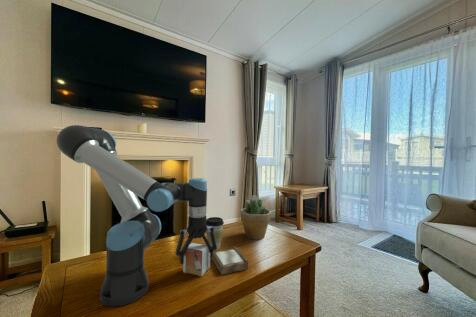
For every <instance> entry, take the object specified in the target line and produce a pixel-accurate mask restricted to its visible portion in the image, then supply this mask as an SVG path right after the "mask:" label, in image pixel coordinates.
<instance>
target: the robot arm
mask: <svg viewBox="0 0 476 317" xmlns="http://www.w3.org/2000/svg"><path fill="white" fill-rule="evenodd" d="M56 144H57V147H58V149H59V150H60V152H61V153H62V154H64V155H65V156H66V157H68V158H69V159H70V160H73V161H74V162H76V163H78V164H85V165H87V166H89V167H90V168H92V169H93V170H94V171H95V172H96V173H97V175H98V178H99V179H100V181H101V183H102V185H103V187H104V188H105V190H106V192H107V194H108V196H109V197H110V199H111V201H112V202H113V205H114V206H115V208H116V210H117V211H118V214H119V215H120V216H121V220H120V223H116V224H115V225H113V226H112V227H110V228H109V230H108V231H107V234H106V240H105V245H106V254H105V255H106V260H105V261H106V265H105V266H106V271H105V272H106V274H105V276H104V280H103V283H102V285H101V289H100V291H99V301H100V303H101V304H102V305H104V306H106V307H111V308H112V307H121V306H122V307H123V306H125V305H128V304H129V305H130V304H131V303H134V302H136V301H137V300H139V299H141V298H142V297H143V296H144V295H146V293H147V292H148V290H149V285H150V284H149V282H150V280H149V277H148V273H147V271H146V268H145V266H144V264H145V263H144V262H145V261H144V259H145V250H146V249H147V248H148V247H149V246H150V245H151V244H152V243H153V242H154V241H155V240H156V239H157V238H158V236H159V235H160V233H161V230H162V223H161V220H160V217H158V216H157V215H156V214H153V213H152V212H151V211H153V212H158V213H159V212H163V211H165V210H167V209H169V208H170V207H171V206H172V205H174V204H175V203H176V202H188V203H187V204H188V205H187V207H188V208H187V209H188V210H187V212H188V214H187V215H188V216H187V217H188V218H187V228H185V229H180V230H179V234H180V235H179V239H178V243H177V246H176V249H175V255H176V257H179V262H180V265H182V272H183V273H184V274H186V273H185V269H186V256H185V252H186V250H187V249H188V247H189V245H190V244H191V243H192V242H193V239H194V240H195V239H201V238H202V239H203V241H204V243H205V245H207V247H208V248H209V249H208V269H210V268H211V259H212V253H213V252H214V251H217V250H216V249H217V246H216V242H215V238H214V234H213V231H214V228H213V227H212V226H210V227H207V226H206V220H207V203H208V202H207V200H208V184H207V183H208V182H207V180H206V179H205V178H204V177H203V178H199V177H195V178H194V177H193V178H189V179H188V182H186V183H185V182H178V183H177V182H162V183H160V182H158V180H156V179H154V178H152V177H150V176H149V175H148V174H145V173H144V172H143V171H141V170H140V169H138V168H136V167H135V166H133V165H131V164H129V163H128V162H126V161H125V160H123V159H121V157H118V156H117V155H118V151H117V148H116V147H117V140H116V139H115V137H114V135H113V134H111V132H109V131H106V130H104V129H101V128H95V127H89V126H85V125H79V124H73V125H68V126H65V127H64V128H63V129H61V130H60V131H59V132H58V135H56ZM139 197H140V198H141V199H143V200H144V201H146V205H147V206H148V207H145V206H143V205H142V203H141V201H140V199H139ZM150 210H151V211H150ZM207 230H208V232H209V234H210V238H211V242H212V247H211V246H210V244H209V242H208V240H207V236H206V235H205V234H206V231H207ZM186 234H188V237H187V239H186V241H185V242H184V239H185V236H186ZM183 243H184V244H183ZM182 246H183V247H182ZM212 260H213V259H212Z"/></svg>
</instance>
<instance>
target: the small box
mask: <svg viewBox="0 0 476 317" xmlns="http://www.w3.org/2000/svg"><path fill="white" fill-rule="evenodd" d="M208 250H209V249H208V247H207V245H206V244H199V243H195V242H191V243H190V245H189V247H188V249H187V250H186V252H185V256H186V269H185V273H184V274H189V275H190V274H191V275H194V276H195V275H196V276H199V277H203V275H204V274H205V273H206V272H207V271H208V269H209V268H208Z"/></svg>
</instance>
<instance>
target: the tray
mask: <svg viewBox="0 0 476 317" xmlns="http://www.w3.org/2000/svg"><path fill="white" fill-rule="evenodd" d="M212 261H213V262H214V265H215V266H216V268H217V270H218V271H219V273H220V274H221V275H226V274H230V273H235V272H242V271H246V270H249V260H248V258H247V257H246V256H245V255H244V254H243V253H242V252H241V251H240V250H239V248H237V246H234V247H233V249H232V248H231V249H225V250H219V251H218V250H217V251H213V253H212Z"/></svg>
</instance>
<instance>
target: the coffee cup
mask: <svg viewBox="0 0 476 317" xmlns="http://www.w3.org/2000/svg"><path fill="white" fill-rule="evenodd" d="M224 223H225V222H224V221H223V218H222V217H219V216H213V217H211V216H210V217H208V218H206V226H207V227H210V226H212V227H213V228H214V231H213V234H214V238H215V242H216V246H217V249H216V250H215V251H218V250H220V248H221V244H222V242H221V241H222V237H223V226H224V225H225V224H224ZM205 234H206V239H207V240H208V242H209V244H210V246H211V247H212V242H211V238H210V234H209V232H208V230H207V231H206V232H205ZM208 250H209V248H208Z"/></svg>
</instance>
